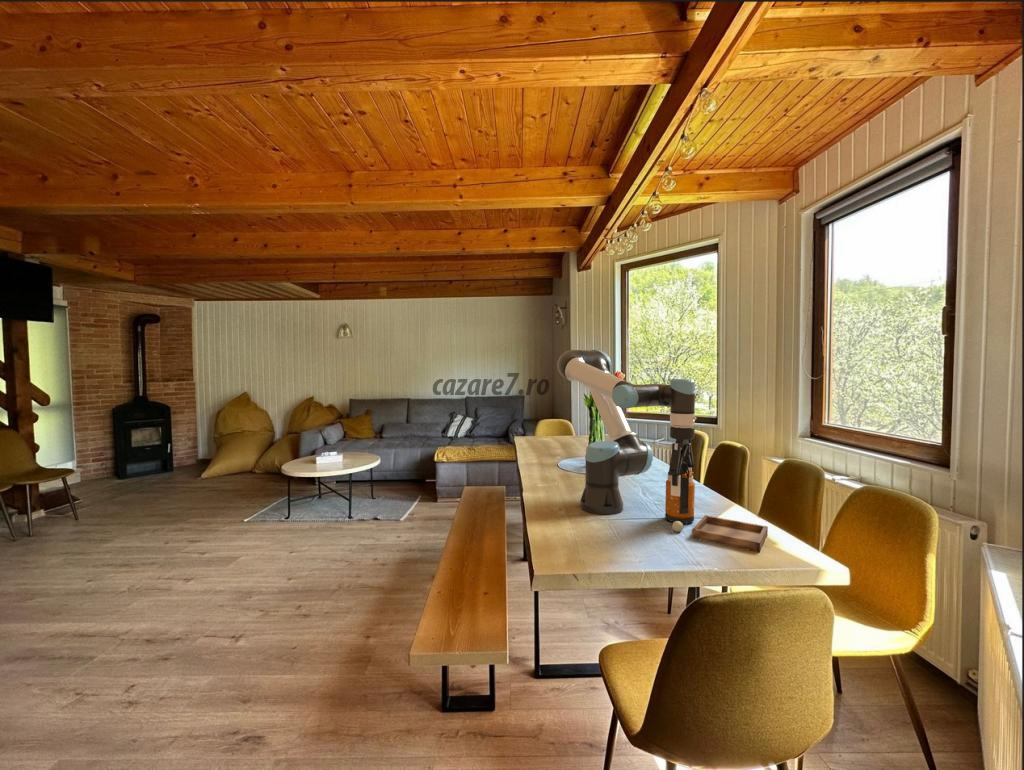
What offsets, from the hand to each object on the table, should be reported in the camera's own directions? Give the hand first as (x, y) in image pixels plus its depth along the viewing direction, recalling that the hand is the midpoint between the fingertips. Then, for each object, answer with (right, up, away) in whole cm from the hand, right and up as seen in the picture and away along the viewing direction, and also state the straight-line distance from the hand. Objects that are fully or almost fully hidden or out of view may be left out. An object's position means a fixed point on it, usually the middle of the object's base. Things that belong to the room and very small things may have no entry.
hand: (681, 491), depth 154 cm
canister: (0, -10, +1) cm, 10 cm away
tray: (+10, -11, -13) cm, 19 cm away
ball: (-4, -11, -9) cm, 14 cm away
